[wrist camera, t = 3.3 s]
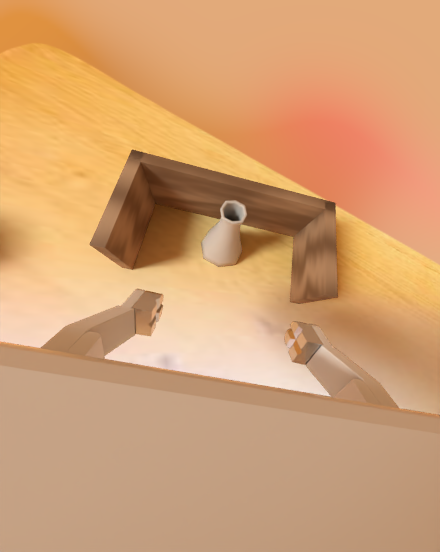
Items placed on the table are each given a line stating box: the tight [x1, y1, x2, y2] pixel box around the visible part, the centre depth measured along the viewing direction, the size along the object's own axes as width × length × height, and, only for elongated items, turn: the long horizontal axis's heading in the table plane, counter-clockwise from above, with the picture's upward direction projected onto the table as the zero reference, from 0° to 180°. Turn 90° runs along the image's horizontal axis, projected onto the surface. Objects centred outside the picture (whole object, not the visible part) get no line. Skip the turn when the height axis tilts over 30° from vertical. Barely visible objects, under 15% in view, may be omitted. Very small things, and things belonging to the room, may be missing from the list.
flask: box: [201, 200, 247, 267], centre depth 24 cm, size 7×7×10 cm
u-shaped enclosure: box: [90, 150, 338, 304], centre depth 25 cm, size 14×29×8 cm, turn 80°
